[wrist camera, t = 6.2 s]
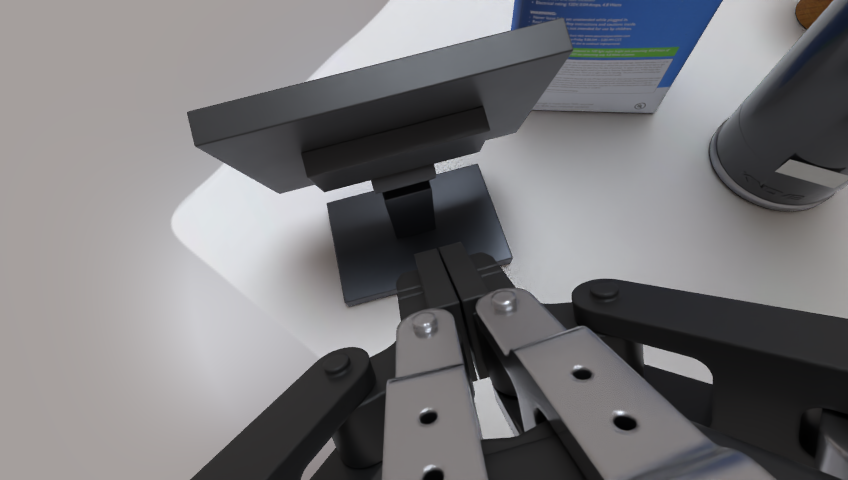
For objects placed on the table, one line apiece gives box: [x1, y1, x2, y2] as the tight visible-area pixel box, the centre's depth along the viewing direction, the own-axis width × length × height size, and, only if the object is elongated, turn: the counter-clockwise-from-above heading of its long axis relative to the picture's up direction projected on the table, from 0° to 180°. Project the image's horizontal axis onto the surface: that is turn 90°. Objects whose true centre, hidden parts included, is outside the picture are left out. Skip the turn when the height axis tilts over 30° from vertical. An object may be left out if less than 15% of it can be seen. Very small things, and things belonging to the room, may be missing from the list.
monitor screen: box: [187, 18, 573, 194], centre depth 24 cm, size 4×17×11 cm, turn 104°
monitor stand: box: [327, 164, 512, 307], centre depth 31 cm, size 9×13×7 cm
